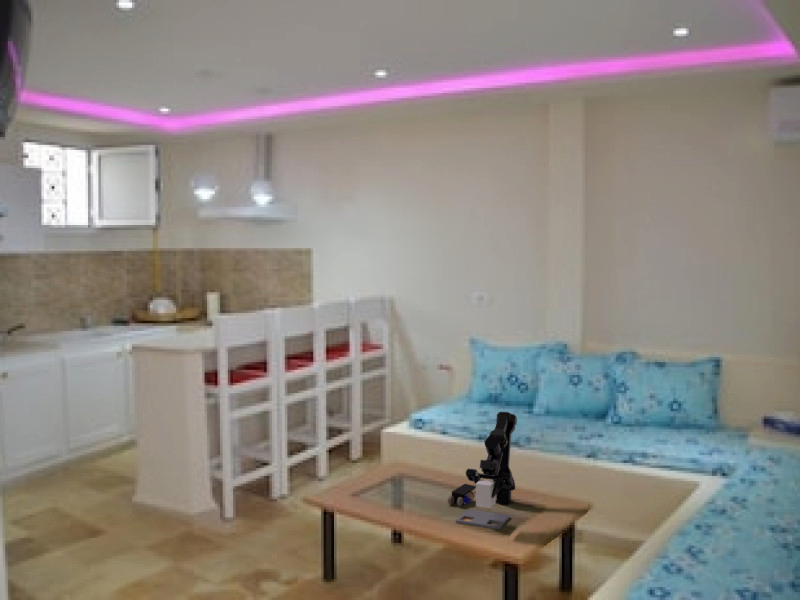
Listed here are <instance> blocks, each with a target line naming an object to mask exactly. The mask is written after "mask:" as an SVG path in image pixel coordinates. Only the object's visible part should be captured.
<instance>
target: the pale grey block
mask: <svg viewBox="0 0 800 600" xmlns="http://www.w3.org/2000/svg"><path fill="white" fill-rule="evenodd" d="M494 486H495V481H493V480H491V479H483V478H481V479H480V481H478V482H477V483H476V488H475V507H479V508H480V507H481V508H482V511H484V512H487V511H488V512H490V511H492V508H493V507H494V506H495V505H496V504H497V503H496V500H497V499H496V495H495V496H494V498H492V492H493V489H494ZM487 509H488V510H487Z"/></svg>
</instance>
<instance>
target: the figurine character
mask: <svg viewBox="0 0 800 600" xmlns="http://www.w3.org/2000/svg"><path fill="white" fill-rule="evenodd" d="M474 490H476V486H475V485H473V484H468V483H463V484H462V485H460V486H458V487H457V488H455V489H454V490H453V491H451V495H449V496H448V498H447V503H448V505H453V504H454V505H457V506H459V507H463V506H465V505H466V504H470V503H472V502H473V501H474V498H475V493H474V492H473V491H474Z"/></svg>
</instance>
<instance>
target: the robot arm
mask: <svg viewBox="0 0 800 600" xmlns="http://www.w3.org/2000/svg"><path fill="white" fill-rule="evenodd" d="M517 423H518V418H517V415H516V414H512V413H511V412H509V411H498V412H497V414H496V423H495V427H494V429H493V430H492V431H490V433H489V435H488V436H487V438H486V439H485V440H484V447H485V450H486V452H487V453H486V454H487V457H486V459H480V463H479V469H481V472H482V473H481V472H478V470H477V469H475V468H467V469H466V470H465V476H466V478H467V479H468V481H469V482H473V483H474V486H476V483H477V482H478V481H480V480H481V479H482V480H490V481H495V486H494V489H493V492H492V498H494V496H495V497H496V499H495V500H496V504H500V505H503V506H507V505H510V504H512V503H515V500H513V499H512V491H514V490H516V482H515V479H514V476H513V472H512V470H511V469H510V457H511V443H512V442H511V441H512V440H511V439H512V434H513V433H514V431H515V430H516V426H517Z"/></svg>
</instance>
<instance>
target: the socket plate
mask: <svg viewBox="0 0 800 600" xmlns="http://www.w3.org/2000/svg"><path fill="white" fill-rule="evenodd" d="M510 518H511V516H510V514H506V513H503V514H502V513H497V512H490V511H486V512H484V510H477V509H476V510H475V509H469V508H467V510H465V511H464V512H463V513H462V514H461V515H460V516H459V517H458V518H457V519H455V523H456V524H461V525H467V526H474V527H479V528H481V527H482V528H487V529H494V530H500V529H501V528H503V526H504V525H505V524H506V522H507V521H508V520H509V519H510ZM490 523H491V524H490ZM496 524H497V525H496Z"/></svg>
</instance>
